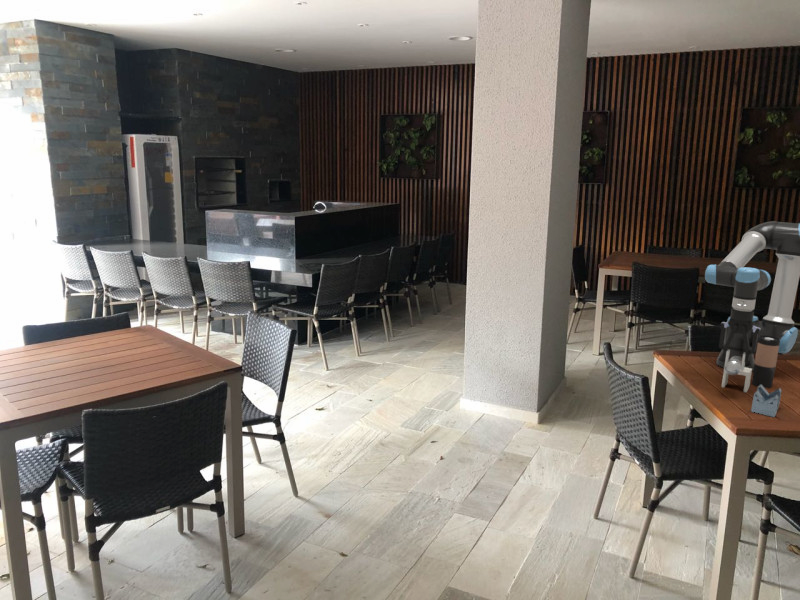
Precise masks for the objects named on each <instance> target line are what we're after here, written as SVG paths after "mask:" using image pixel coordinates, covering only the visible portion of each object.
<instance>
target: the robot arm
mask: <svg viewBox="0 0 800 600" xmlns="http://www.w3.org/2000/svg"><path fill="white" fill-rule="evenodd" d="M764 249H767V250H768V249H769V250H774V251H775V255H776V256H777V258H778V261H777V265H776V271H775V276H774V277H775V278H774V281H773V287H772V291H771V297H770V302H769V306H768V311H767V314H766V315H765V316H763V318H762V320H759V317H758V316H756V315H754V314H755V311H754V310H755V307H756V301H757V294H758V291H762V290H764V289H766V288H767V287H768V286H770V284H771V281H772V277H771V275H770V273H769V272H768V271H766V270H764V269H758V268H755V267H749V266H748V267H745V266H746V265H747V264H748V263H749V262H750V261H751V259H753V257H754V256H755V255H756V254H757V253H758V252H761V251H763V250H764ZM704 279H705V281H706V282H707V283H708V284H713V285H719V286H723V287H725V286H726V287H731V288H732V287H733V288H734V291H733V296H732V304H731V310H730V316H728V318H727V319H726V320H727V321H726V322H725V321H722V322H721V323H720V325H719V326H720V336H719V342H718V348H720V349H721V351H720V353H719V355H718V356H717V358H716V365H717V366H718V365H719V366H718V367H720V366H721V367H720V368H722V367H723V368H722V369H724V368H725V366H726V364H727V363H728V361H729V360H730V359H731V358H732V357H733V356H739V357H741V358H742V365H741V371H743V370H744V367H746V368H751V369H752V372H753V370H754V362H755V358H754V357H755V356H754V354H756V350H757V345H758V339H759V336H760V335H768V336H774V337H777V338H779V339H780V343H779V350H778V354H787V353H789V352H790V351H791V350H792V348H793V346H794V345H795V343H796V340H797V338H798V335H799V333H798V332H799V330H798V328H797V327H795V321H794V320H793V319H792V316H793V310H794V305H795V300H796V296H797V290H798V286H799V281H800V222H799V223H795V222H786V221H785V222H784V221H783V222H782V221H775V220H773V221H772V220H771V221H767V222H763V223H760V224H757V225H755V226H754V227H751V228H750V229H749V230H747V231H746V232H745V233H744V234H743V235H742V238H741V241H740V242H739V243H738V244H737V245H736V246H735V247H734V248H733V249H732V250H731V251H730V252H729V254H727V256H726V257H725V258H724V259H722V261H721V262H719V264H709V265H707V267H706V269H705V273H704Z"/></svg>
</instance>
